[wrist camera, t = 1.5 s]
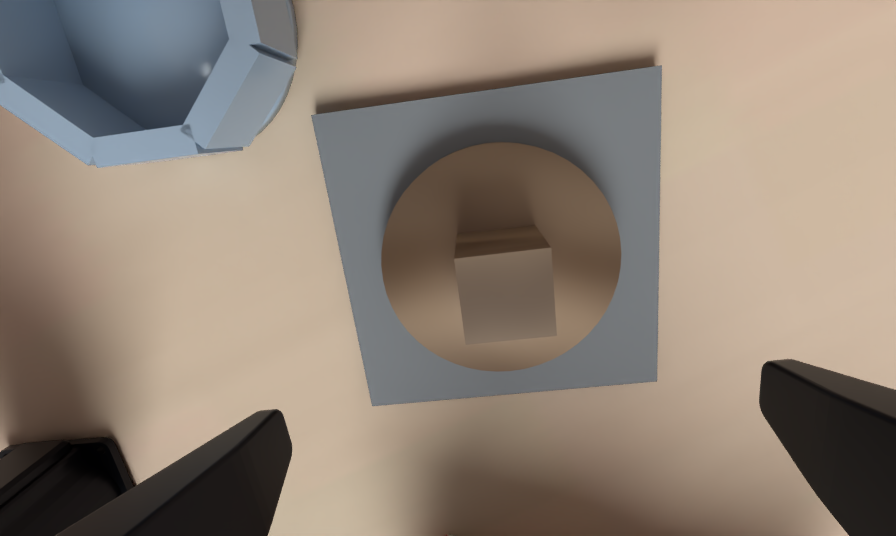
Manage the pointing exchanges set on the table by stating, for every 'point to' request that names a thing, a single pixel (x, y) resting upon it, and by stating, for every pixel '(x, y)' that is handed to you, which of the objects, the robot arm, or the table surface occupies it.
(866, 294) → the table surface
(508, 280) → the lid
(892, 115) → the table surface
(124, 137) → the bowl
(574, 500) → the table surface
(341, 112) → the mat
